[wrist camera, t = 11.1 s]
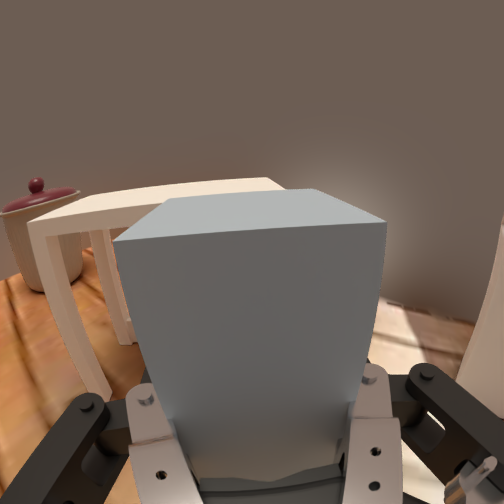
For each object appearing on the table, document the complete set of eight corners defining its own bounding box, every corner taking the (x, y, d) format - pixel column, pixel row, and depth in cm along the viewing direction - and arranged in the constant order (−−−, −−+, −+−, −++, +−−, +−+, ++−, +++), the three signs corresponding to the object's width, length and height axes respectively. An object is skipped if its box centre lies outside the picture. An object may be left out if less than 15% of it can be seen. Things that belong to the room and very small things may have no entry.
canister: (21, 279, 48) (1, 188, 40) (87, 258, 59) (72, 169, 52) (18, 311, 35) (-13, 190, 28) (103, 282, 46) (83, 165, 39)
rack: (287, 402, 22) (291, 193, 16) (94, 401, 21) (26, 222, 15) (271, 331, 32) (267, 177, 26) (123, 337, 31) (90, 195, 25)
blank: (319, 498, 9) (387, 221, 5) (214, 508, 9) (112, 241, 5) (301, 427, 14) (313, 188, 10) (214, 434, 14) (168, 198, 9)
